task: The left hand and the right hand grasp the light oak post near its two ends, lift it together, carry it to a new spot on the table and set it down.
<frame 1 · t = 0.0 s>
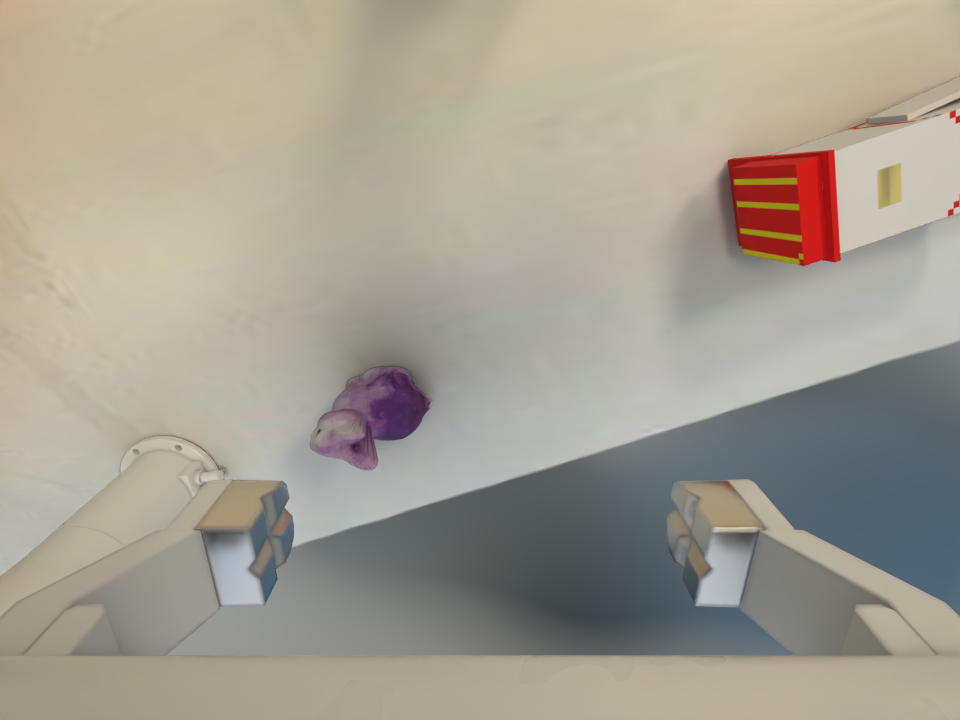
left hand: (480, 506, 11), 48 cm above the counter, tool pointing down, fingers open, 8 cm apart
toy: (864, 161, 53), on the counter
figurine: (382, 396, 63), on the counter
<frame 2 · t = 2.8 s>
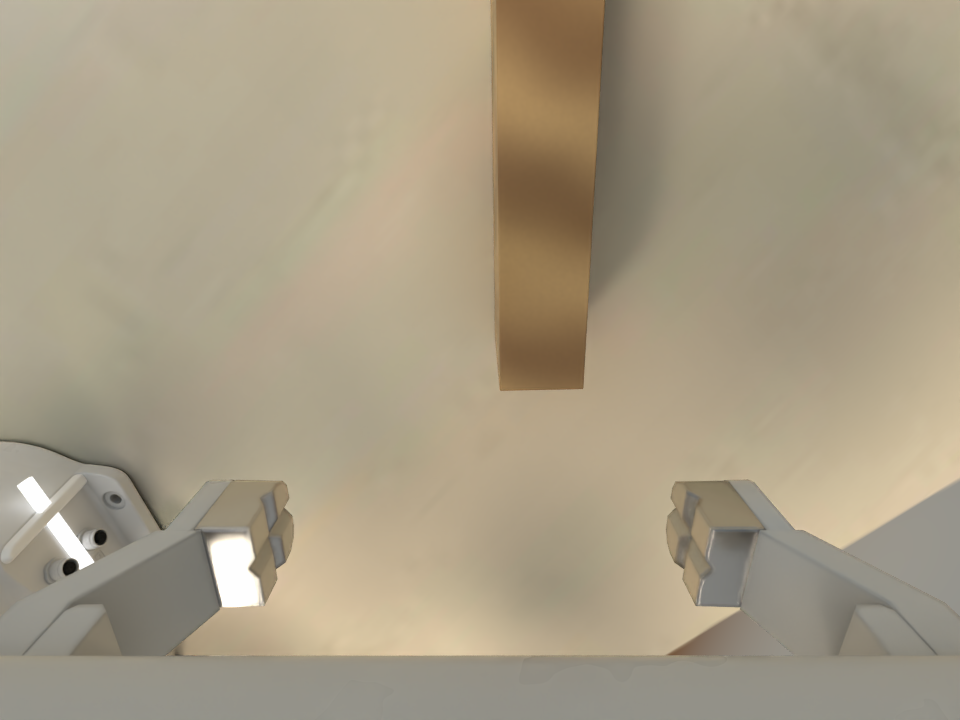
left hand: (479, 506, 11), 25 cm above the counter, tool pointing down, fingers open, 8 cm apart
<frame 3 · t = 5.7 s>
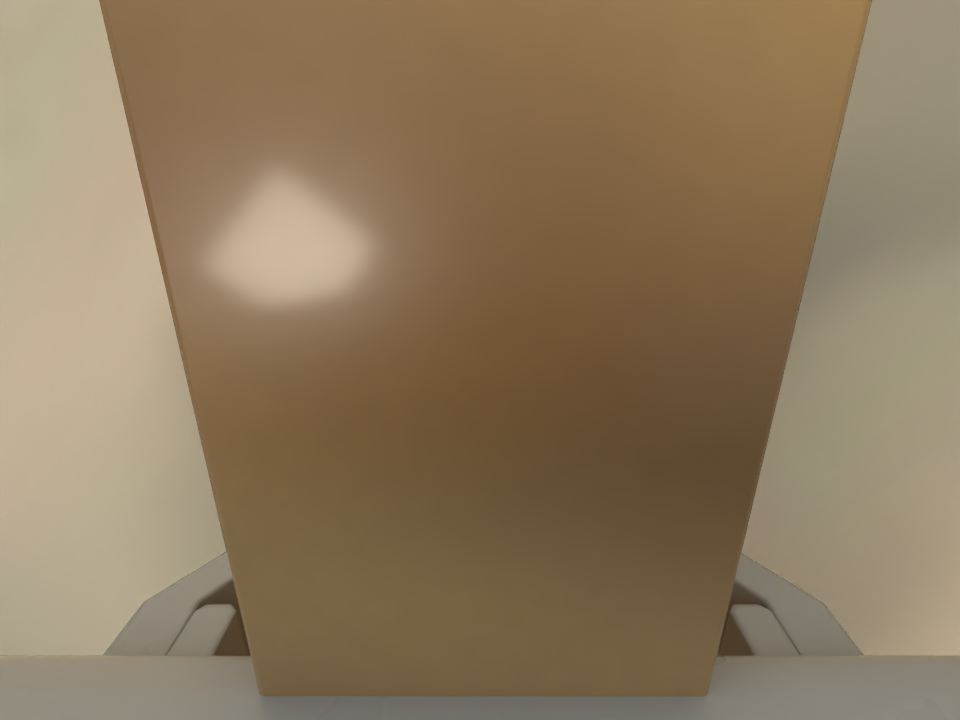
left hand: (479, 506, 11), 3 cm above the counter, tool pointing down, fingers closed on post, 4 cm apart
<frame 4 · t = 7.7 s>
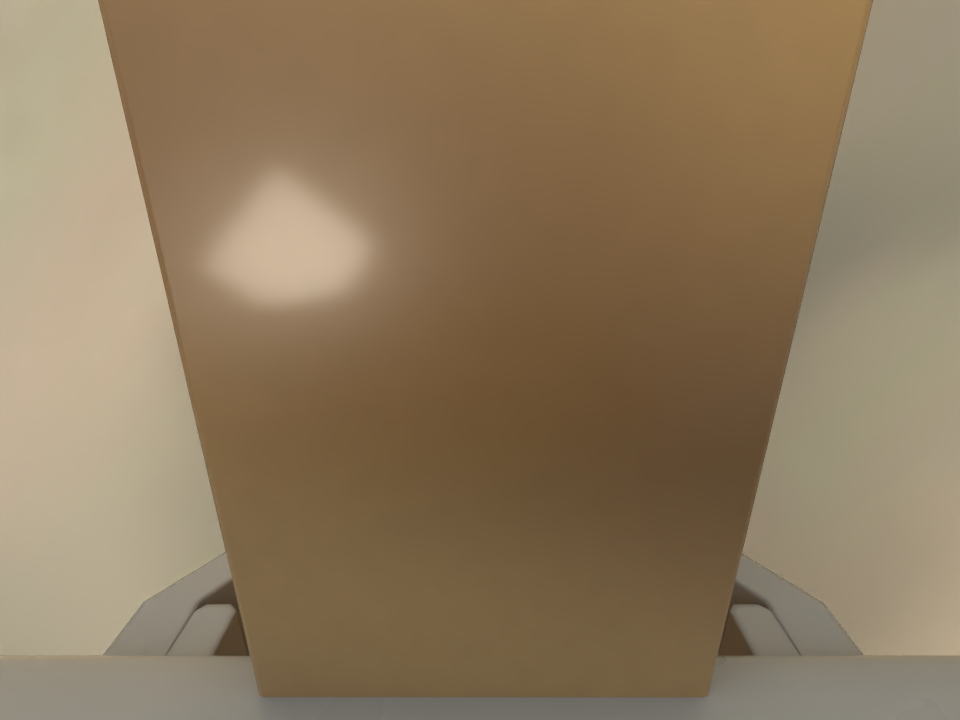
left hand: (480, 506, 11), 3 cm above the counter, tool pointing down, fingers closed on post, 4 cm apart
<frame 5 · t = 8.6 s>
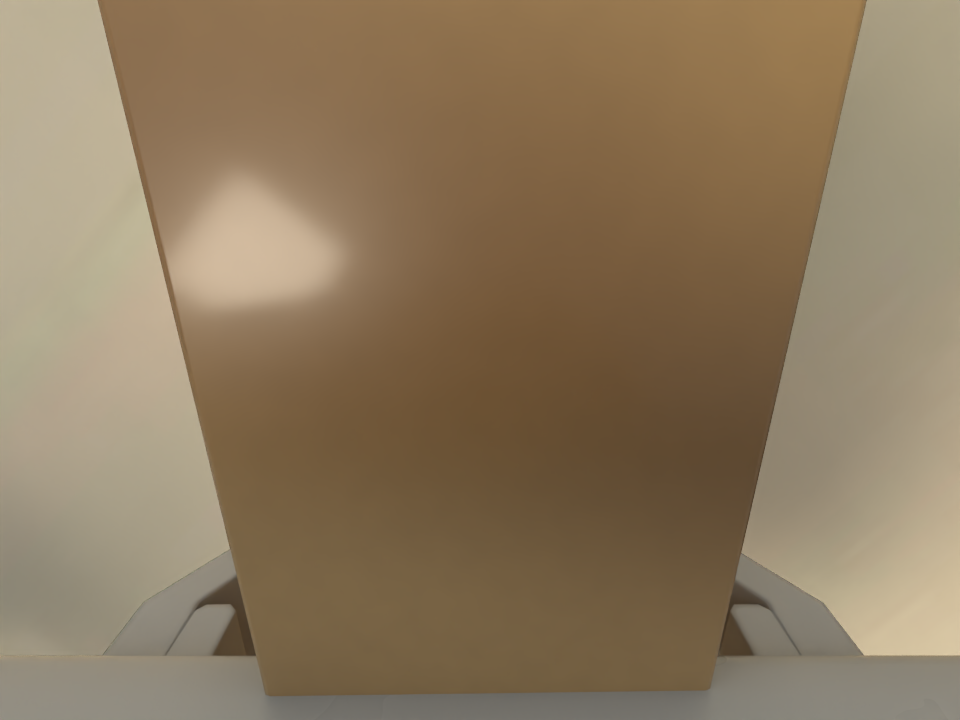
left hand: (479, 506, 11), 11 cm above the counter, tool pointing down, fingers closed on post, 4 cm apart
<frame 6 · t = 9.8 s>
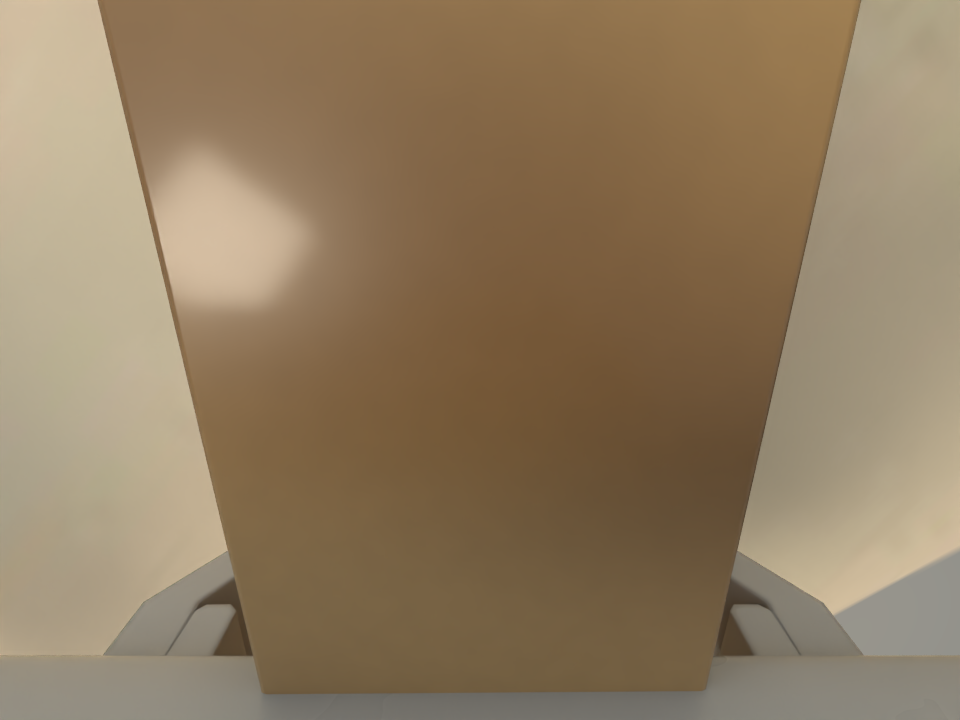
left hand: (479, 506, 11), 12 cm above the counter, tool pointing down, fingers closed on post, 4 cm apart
when the left hand's fingers open (5 cm above the counter, at t = 11.9 s): post drops 1 cm, on the counter.
when the right hand's fingers open (5 cm above the counter, at t = 11.9 s): post drops 1 cm, on the counter.
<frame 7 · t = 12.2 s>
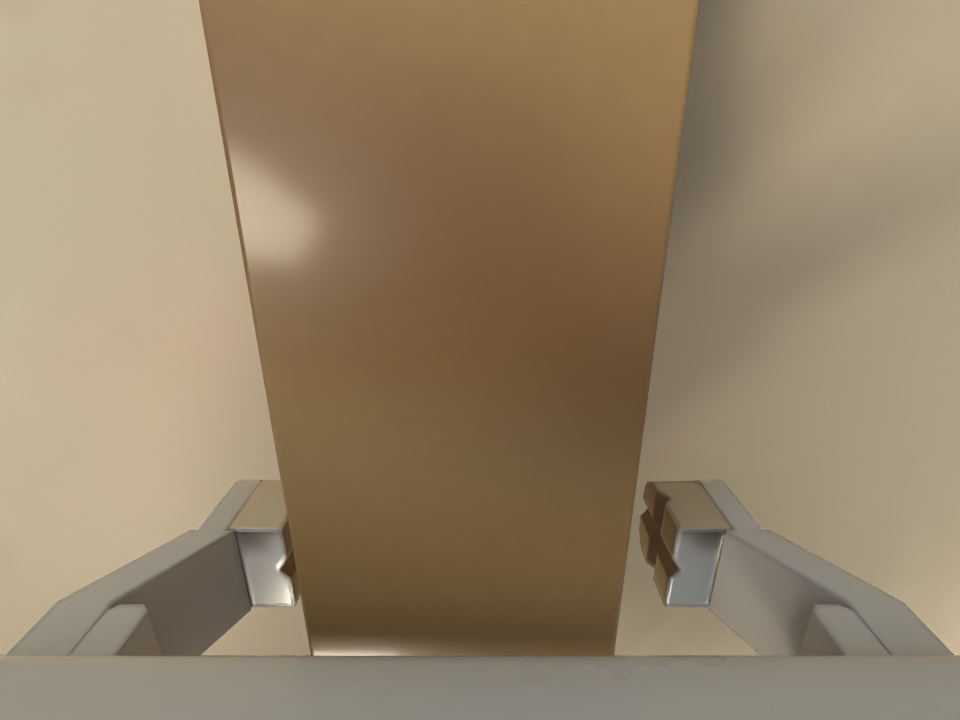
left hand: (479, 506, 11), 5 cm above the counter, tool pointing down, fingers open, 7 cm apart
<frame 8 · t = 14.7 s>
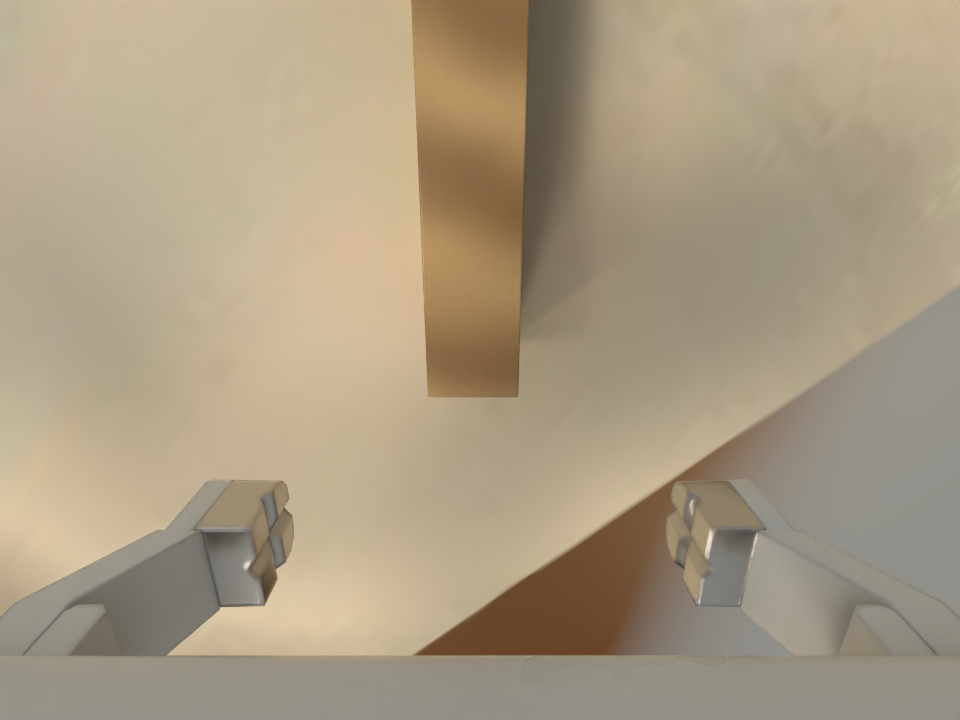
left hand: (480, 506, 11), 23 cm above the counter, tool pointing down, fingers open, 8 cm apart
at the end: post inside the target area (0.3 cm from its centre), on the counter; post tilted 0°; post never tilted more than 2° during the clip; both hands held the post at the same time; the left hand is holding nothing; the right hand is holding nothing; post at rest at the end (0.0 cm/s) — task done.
